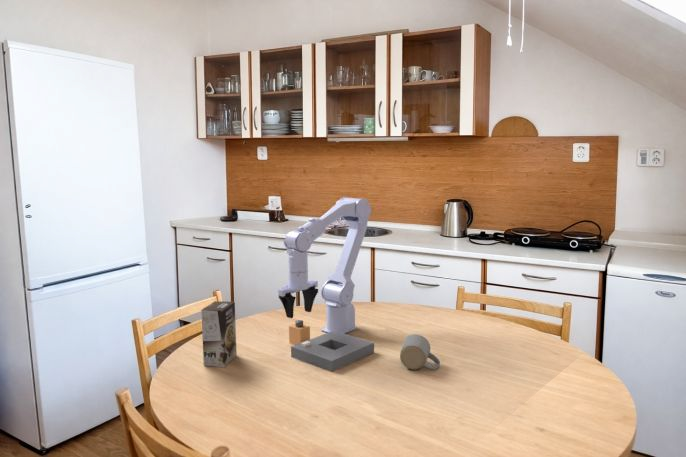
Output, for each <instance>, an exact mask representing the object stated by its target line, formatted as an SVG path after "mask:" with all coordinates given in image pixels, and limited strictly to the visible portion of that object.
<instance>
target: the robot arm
mask: <svg viewBox="0 0 686 457" xmlns="http://www.w3.org/2000/svg"><path fill="white" fill-rule="evenodd" d="M326 211H327V210H326ZM371 212H372V207H371V205H370V203H369V201H368V199H366V198H354V197H347V196H343V197H341V198H340V199H338V200H337V201H336V202H335V204H334V205H333V206H332V207H331V208H330V209H329V210H328V211H327V212H325V213H324V214H323V215H322V216H320V217H310V218H309V219H308V221H307V222H306V223H305V224H303V225H302V226H299V227H297V230H292V231H289V232H288V233H287V234H286V235H285V238H284V240H283V245H284V248H286V250H287V251H286V253H287V255H288V256H287V257H288V259H287V260H288V283H287V284H286V285H285V286H283V287H281V288H279V289H278V292H277V294H278V299H279V300H280V301H281V303H282V306H283V309H284V311H285V316H286V318H288V319H292V318H294V308H295V302H296V298H297V297H296V296H294V295H293V294H295V293H297V292H301V293H302V295H303V304H304V312H306V313H312V310H313V306H314V302H315V299H316V297H317V294H319V288H318V287H319V286H318V285H319V284H318V282H319V281H318V280H316V279H313V280H312V279H311V280H309V279H308V278H309V268H308V267H309V266H308V261H309V260H308V251H309V250H310V249H311V247H312V244H313V243H314V242H315V241H316V240H317V239H318V238H320V237H321V236H323V234H325V233H326V229H327V227H329V226H330V225H332V224H333V223H335V222H336V221H338V220H339V219H343V221H345V222H344V223H346V224H347V225H348V232H347V234H346V237H345V240H344V244H343V247H342V250H341V253H340V256H339V259H338V261H337V264H336V268H335V270H334V272H333V273H332V274H330V275H329V276H327V278H326V281H325V283H324V284H323V285H322V287H321V289H320V295H321V297H322V299H323V300H324V304H325V308H326V309H325V310H326V316H325V318H326V319H325V320H326V321H325V322H326V324H325V325H326V326H325V327H322V328H321V329H320V331H322V332H325V333H329V332H331V331H337V332H340V333H344V334H347V333H349V332H351V331H355V330H357V329H358V326H356V308H355V305H354V303H352V302H353V299H354V290H355V286H356V284H355V283H354V282H353V279H351V278H352V274H353V272H354V268H355V265H356V262H357V259H358V255H359V253H360V251H361V246H362V244H363V241H364V238H365V234H366V232H367V228H368V221H369V220H370V219H369V218H370V216H371Z"/></svg>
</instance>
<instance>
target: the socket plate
mask: <svg viewBox="0 0 686 457" xmlns="http://www.w3.org/2000/svg"><path fill="white" fill-rule="evenodd" d="M374 353H375V342H374V341H369V340H367V339H363V338H360V337H357V336H353V335H350V334H347V333H340V332H337V331H331V332H329V333H328V332H325V333H324V334H322V335H318V336H316V337H313V338H310V340H307V341H305V342H302V343H299V344H297V345H292V346H290V356H291V358H294V359H297V360H299V361H302V362H303V363H304V362H305V363H307V364H310V365H313V366H314V367H318V368H320V369H323V370H326V371H329V372H334V371H336V370H338V369H341V368H343V367H346V366H347V365H350V364H352V363H354V362H356V361H359V360H361V359H363V358H365V357H368V356H369V355H372V354H374Z"/></svg>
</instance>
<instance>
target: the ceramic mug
mask: <svg viewBox="0 0 686 457" xmlns="http://www.w3.org/2000/svg"><path fill="white" fill-rule="evenodd" d="M399 355H400V358H399V359H400V362H401V364H402V365H403V366H404V367H405V368H407V369H409V370H414V371H416V370H419V369H421V368H423V366H424V367H426V368H427V369H430V370H437V369H439V367H440V365H441V361H440V359H439V358H438V357H437V356H436V355H435V354H433V353H431V344H430V342H429V341H428V339H427V338H426V337H424V336H423V335H421V334H415V333H414V334H410V335H408V336H407V337H406V338H405V339H404V341H403V344H402V346H401V349H400V352H399ZM428 359H429V360H431V361H433V362H434V364H433V363H431V362H429V361H428Z"/></svg>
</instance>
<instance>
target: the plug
mask: <svg viewBox="0 0 686 457" xmlns="http://www.w3.org/2000/svg"><path fill="white" fill-rule="evenodd" d="M288 338H289V339H288V340H289V344H291V345H292V346H294V345H297V344H299V343H302V342H305V341H307V340H310V339H311V326H310V325H307V324H304V320H301V319H299V320H298V319H297V320H295V323H294V324H291V325H289V326H288Z"/></svg>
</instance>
